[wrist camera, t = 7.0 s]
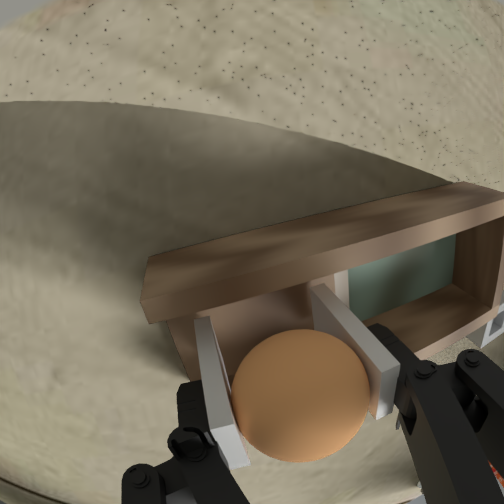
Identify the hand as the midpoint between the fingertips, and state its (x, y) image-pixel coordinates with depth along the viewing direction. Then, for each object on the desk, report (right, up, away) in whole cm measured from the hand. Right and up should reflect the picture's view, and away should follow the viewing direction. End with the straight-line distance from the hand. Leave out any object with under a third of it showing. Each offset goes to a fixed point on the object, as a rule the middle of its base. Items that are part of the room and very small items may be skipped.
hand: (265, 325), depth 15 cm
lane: (+5, +2, +3) cm, 6 cm away
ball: (+1, -2, -5) cm, 5 cm away
